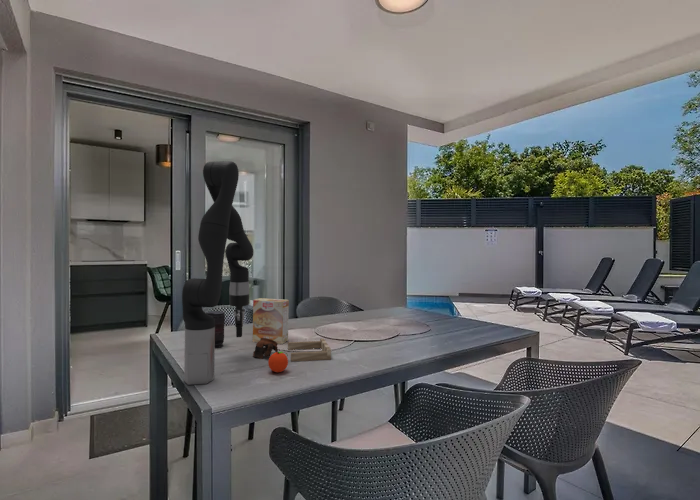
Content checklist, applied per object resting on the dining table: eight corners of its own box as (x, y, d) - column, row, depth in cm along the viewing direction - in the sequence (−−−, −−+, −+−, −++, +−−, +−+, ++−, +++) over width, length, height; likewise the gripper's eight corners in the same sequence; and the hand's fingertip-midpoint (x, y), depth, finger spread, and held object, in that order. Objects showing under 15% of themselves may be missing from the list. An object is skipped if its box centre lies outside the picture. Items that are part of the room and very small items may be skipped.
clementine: (281, 366, 142) (281, 347, 142) (294, 371, 138) (294, 351, 138) (263, 372, 136) (264, 351, 136) (276, 376, 132) (277, 355, 131)
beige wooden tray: (330, 359, 152) (331, 349, 152) (291, 361, 149) (291, 351, 149) (323, 347, 170) (323, 338, 170) (287, 349, 166) (288, 339, 166)
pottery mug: (248, 356, 157) (255, 336, 160) (268, 364, 160) (275, 344, 164) (258, 355, 147) (266, 335, 150) (279, 364, 151) (287, 343, 154)
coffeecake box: (252, 342, 178) (252, 299, 177) (259, 338, 184) (259, 297, 184) (282, 344, 174) (283, 301, 174) (288, 340, 181) (289, 299, 181)
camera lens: (218, 349, 164) (218, 314, 164) (201, 348, 166) (201, 313, 166) (228, 344, 172) (228, 311, 172) (211, 343, 174) (211, 310, 174)
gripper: (248, 295, 147) (248, 340, 148) (249, 290, 160) (249, 332, 161) (228, 295, 145) (227, 341, 146) (230, 291, 158) (230, 333, 159)
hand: (239, 336), depth 153 cm, fingers closed
